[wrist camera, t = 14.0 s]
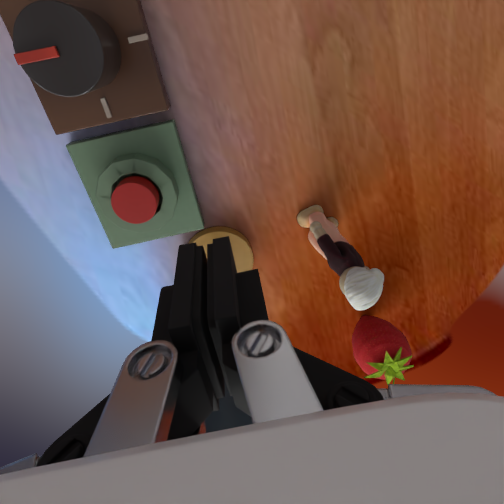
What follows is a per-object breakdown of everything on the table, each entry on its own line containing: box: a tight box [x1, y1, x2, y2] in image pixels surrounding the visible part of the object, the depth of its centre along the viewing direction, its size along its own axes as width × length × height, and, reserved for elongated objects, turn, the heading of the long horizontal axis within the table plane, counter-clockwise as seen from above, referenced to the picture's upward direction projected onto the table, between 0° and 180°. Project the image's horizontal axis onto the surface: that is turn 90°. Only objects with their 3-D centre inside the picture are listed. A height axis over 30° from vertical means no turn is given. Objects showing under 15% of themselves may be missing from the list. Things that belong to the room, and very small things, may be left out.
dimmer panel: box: [0, 0, 170, 135], centre depth 26 cm, size 10×9×2 cm
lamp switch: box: [111, 176, 159, 224], centre depth 30 cm, size 4×4×2 cm
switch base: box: [66, 119, 204, 249], centre depth 31 cm, size 10×9×3 cm
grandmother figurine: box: [297, 205, 384, 310], centre depth 31 cm, size 8×4×13 cm, turn 58°
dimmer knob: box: [13, 0, 121, 97], centre depth 23 cm, size 5×5×5 cm
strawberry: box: [352, 315, 414, 384], centre depth 39 cm, size 6×8×10 cm
